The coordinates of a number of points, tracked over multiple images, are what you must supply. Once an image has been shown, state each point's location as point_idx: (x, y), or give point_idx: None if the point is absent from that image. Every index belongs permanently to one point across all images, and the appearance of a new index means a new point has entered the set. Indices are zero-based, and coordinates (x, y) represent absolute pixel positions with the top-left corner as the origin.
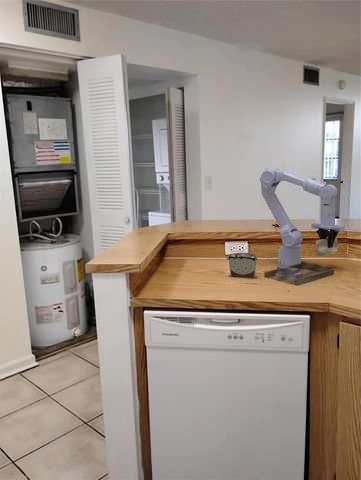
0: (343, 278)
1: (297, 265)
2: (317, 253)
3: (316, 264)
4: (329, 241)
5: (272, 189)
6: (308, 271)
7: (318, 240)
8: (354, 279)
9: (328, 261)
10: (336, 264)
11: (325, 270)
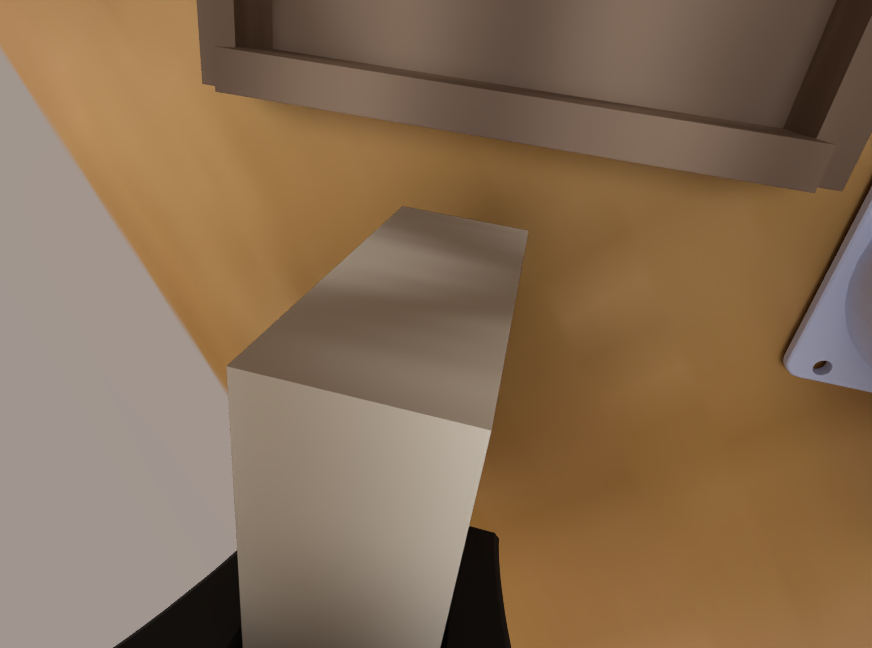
0: (155, 92)
1: (860, 23)
2: (479, 232)
3: (471, 85)
4: (197, 591)
5: None
6: (591, 5)
7: (426, 505)
8: (70, 126)
9: (614, 629)
10: (500, 560)
11: (323, 59)
